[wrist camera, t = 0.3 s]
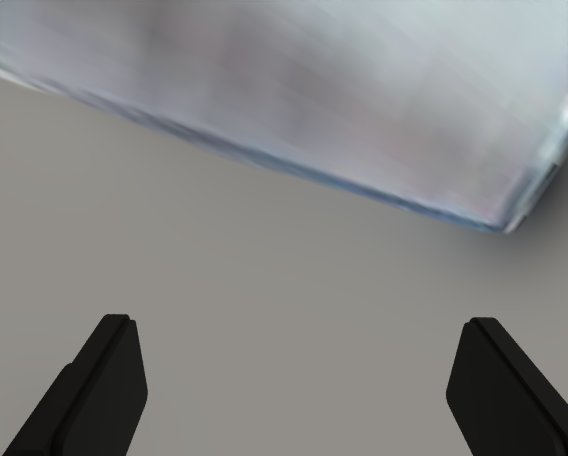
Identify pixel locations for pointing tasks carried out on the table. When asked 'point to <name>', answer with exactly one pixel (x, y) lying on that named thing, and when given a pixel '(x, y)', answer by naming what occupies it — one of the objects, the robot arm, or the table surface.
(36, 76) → the table surface
